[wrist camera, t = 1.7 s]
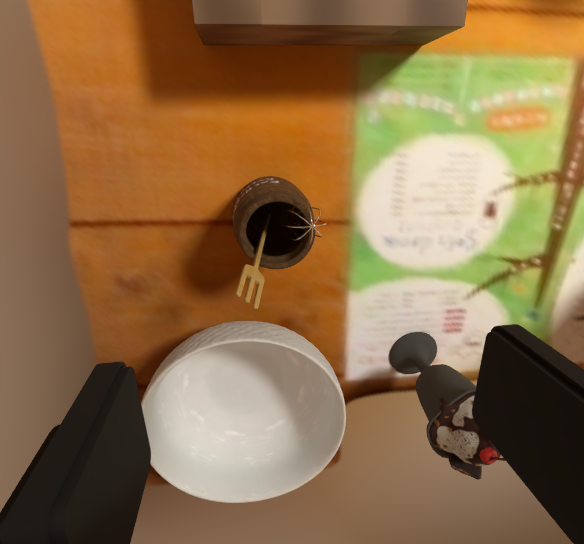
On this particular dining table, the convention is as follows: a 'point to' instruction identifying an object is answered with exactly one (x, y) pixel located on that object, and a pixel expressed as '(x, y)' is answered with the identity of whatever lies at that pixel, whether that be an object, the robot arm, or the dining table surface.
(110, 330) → the dining table surface
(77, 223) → the dining table surface
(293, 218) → the utensil holder
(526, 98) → the dining table surface
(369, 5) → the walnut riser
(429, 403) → the sundae
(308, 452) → the cereal bowl
